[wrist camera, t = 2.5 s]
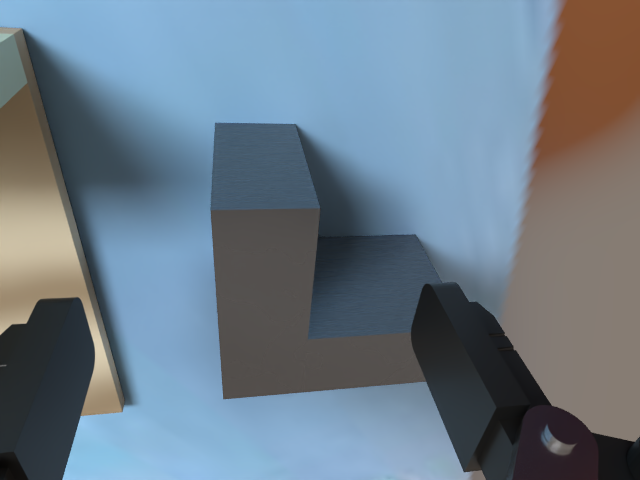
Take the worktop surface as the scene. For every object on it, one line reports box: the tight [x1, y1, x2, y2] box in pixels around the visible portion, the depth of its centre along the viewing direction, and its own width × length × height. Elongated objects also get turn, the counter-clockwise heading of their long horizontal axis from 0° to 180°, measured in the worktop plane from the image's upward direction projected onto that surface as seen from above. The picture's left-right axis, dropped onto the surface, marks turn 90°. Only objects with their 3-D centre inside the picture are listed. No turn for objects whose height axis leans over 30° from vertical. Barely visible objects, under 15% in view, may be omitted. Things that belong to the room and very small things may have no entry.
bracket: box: [211, 123, 442, 399], centre depth 15 cm, size 7×8×5 cm
